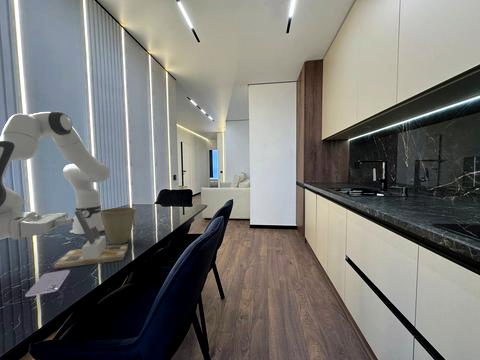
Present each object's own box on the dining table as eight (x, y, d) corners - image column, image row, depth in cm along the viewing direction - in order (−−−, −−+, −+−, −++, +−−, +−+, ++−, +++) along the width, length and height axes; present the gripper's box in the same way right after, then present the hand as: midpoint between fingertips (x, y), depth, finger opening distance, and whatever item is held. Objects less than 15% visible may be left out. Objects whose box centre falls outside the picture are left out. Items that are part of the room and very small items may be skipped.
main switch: (92, 241, 91) (77, 210, 88) (96, 240, 91) (81, 209, 89) (89, 244, 87) (73, 212, 85) (93, 243, 88) (77, 210, 85)
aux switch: (97, 236, 97) (92, 226, 96) (100, 235, 98) (96, 225, 97) (95, 239, 94) (90, 229, 93) (98, 237, 94) (93, 227, 93)
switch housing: (92, 248, 97) (92, 237, 97) (106, 247, 99) (105, 235, 99) (82, 260, 85) (82, 247, 85) (97, 258, 87) (97, 245, 86)
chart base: (70, 253, 96) (70, 249, 96) (128, 247, 103) (127, 243, 103) (54, 268, 82) (54, 264, 81) (122, 260, 89) (122, 255, 88)
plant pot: (134, 245, 105) (132, 211, 104) (97, 249, 101) (95, 213, 100) (138, 236, 120) (137, 206, 119) (106, 239, 115) (104, 208, 114)
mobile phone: (70, 268, 80) (57, 289, 67) (70, 271, 80) (57, 292, 67) (43, 272, 77) (23, 295, 63) (43, 275, 77) (23, 298, 63)
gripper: (42, 226, 92) (82, 222, 96) (9, 241, 72) (61, 236, 77) (41, 210, 91) (81, 208, 96) (8, 221, 72) (60, 218, 76)
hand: (72, 220), depth 86 cm, fingers closed
